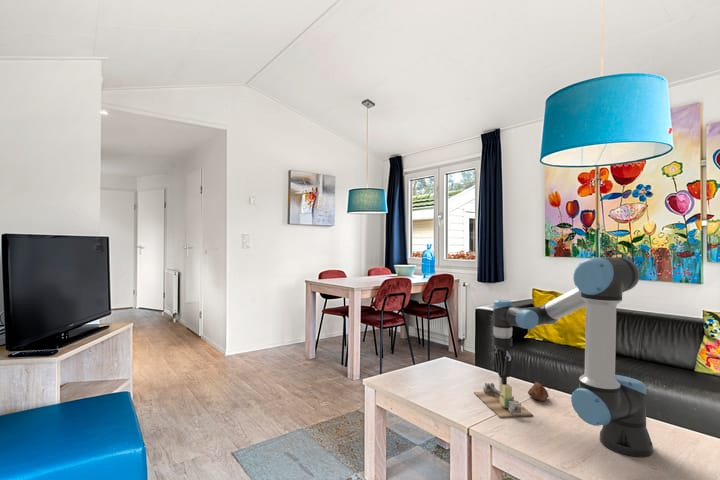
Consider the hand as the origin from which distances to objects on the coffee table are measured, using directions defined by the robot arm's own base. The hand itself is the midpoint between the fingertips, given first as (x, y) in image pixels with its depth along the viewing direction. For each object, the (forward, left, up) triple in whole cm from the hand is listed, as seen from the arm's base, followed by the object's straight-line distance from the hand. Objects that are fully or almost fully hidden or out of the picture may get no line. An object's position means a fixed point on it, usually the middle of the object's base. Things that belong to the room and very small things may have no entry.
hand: (502, 391), depth 169 cm
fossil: (+5, -19, -6) cm, 21 cm away
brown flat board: (+1, 0, -6) cm, 6 cm away
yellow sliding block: (-3, 0, -4) cm, 6 cm away
